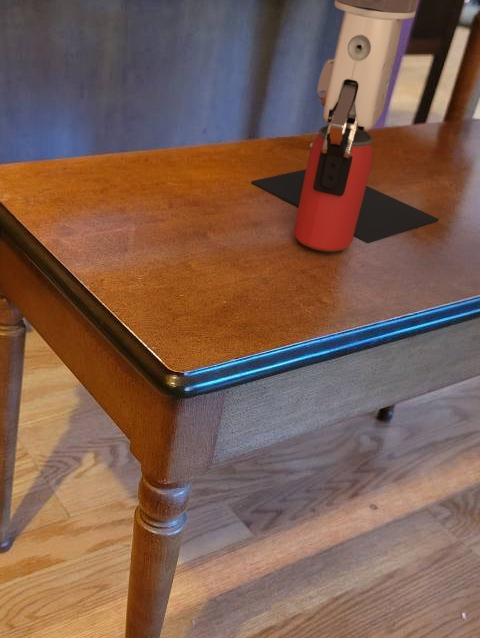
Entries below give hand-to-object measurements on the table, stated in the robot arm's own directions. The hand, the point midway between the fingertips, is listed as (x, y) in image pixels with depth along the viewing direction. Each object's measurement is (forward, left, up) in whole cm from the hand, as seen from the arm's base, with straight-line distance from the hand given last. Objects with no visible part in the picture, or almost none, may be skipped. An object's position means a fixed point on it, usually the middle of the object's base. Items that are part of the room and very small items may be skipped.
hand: (335, 179), depth 79 cm
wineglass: (+24, -27, -8) cm, 37 cm away
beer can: (0, 0, -7) cm, 7 cm away
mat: (+8, -13, -8) cm, 17 cm away
